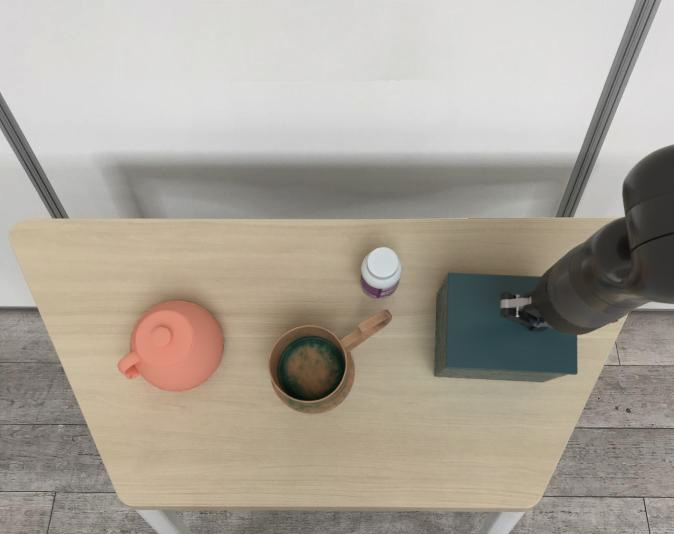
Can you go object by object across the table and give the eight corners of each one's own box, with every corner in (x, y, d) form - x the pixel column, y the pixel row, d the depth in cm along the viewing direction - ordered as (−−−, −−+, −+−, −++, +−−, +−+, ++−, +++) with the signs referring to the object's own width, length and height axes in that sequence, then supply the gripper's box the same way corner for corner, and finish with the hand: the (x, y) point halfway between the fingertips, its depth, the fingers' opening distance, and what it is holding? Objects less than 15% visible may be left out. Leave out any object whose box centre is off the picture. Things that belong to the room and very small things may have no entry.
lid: (574, 279, 75) (576, 278, 75) (575, 374, 74) (577, 374, 73) (447, 273, 76) (448, 272, 75) (445, 368, 74) (446, 367, 73)
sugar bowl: (242, 364, 85) (228, 353, 75) (153, 416, 84) (126, 412, 74) (200, 290, 87) (180, 270, 76) (113, 340, 86) (81, 326, 76)
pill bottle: (385, 307, 86) (389, 291, 76) (353, 288, 86) (353, 269, 77) (405, 275, 86) (412, 255, 77) (373, 256, 87) (375, 234, 77)
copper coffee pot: (407, 363, 84) (417, 350, 72) (297, 429, 83) (288, 428, 71) (364, 293, 86) (366, 270, 74) (255, 357, 85) (240, 344, 73)
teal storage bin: (543, 298, 85) (567, 279, 76) (543, 382, 83) (568, 374, 74) (436, 293, 86) (447, 274, 76) (434, 376, 84) (445, 368, 74)
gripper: (661, 251, 57) (589, 295, 74) (518, 245, 57) (479, 290, 74) (663, 330, 56) (590, 356, 73) (517, 323, 56) (478, 351, 73)
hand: (534, 323), depth 74 cm, fingers closed
